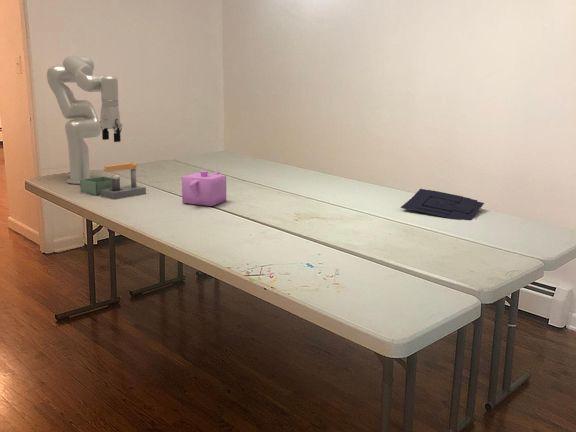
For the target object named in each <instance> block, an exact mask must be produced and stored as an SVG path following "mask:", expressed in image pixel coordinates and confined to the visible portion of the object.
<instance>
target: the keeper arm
mask: <svg viewBox="0 0 576 432" xmlns="http://www.w3.org/2000/svg"><path fill="white" fill-rule="evenodd" d="M103 168H104V173H105V172H106V173H110V172H117V171H119V172H120V171H125V170H131V169H136V170H137V162H128V163H127V162H126V163H120V164H119V163H117V164H112V165H104V167H103Z"/></svg>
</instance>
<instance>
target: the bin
mask: <svg viewBox="0 0 576 432" xmlns="http://www.w3.org/2000/svg"><path fill="white" fill-rule="evenodd" d="M79 185H80V193H83V194H86V195H91V196H97V197H99V196H101V190H103V189H110V188H112V177H109V176H103V175H102V176H96V177H90V178H88V179H81V180H80V184H79Z"/></svg>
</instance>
